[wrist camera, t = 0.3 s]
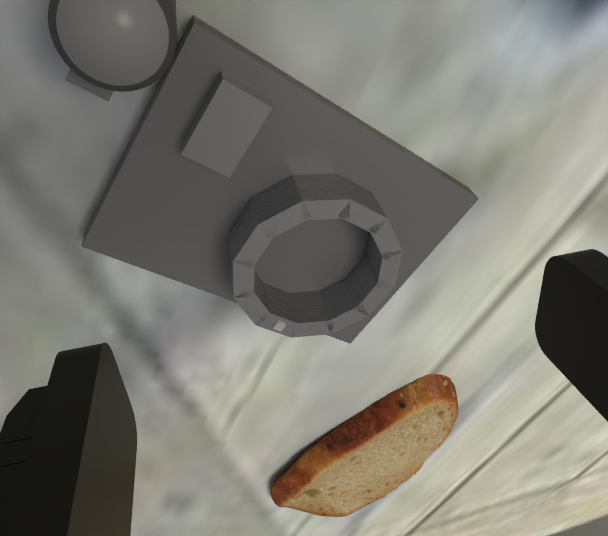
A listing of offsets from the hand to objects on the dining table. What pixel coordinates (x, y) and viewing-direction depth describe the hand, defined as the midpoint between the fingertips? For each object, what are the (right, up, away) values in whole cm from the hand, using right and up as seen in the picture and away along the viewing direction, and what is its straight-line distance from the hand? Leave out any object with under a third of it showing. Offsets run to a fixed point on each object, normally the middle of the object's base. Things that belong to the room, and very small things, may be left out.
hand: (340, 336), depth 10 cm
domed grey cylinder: (-9, +14, +15) cm, 22 cm away
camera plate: (-2, +5, +24) cm, 24 cm away
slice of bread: (+5, -16, +42) cm, 45 cm away
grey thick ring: (0, +3, +24) cm, 24 cm away
